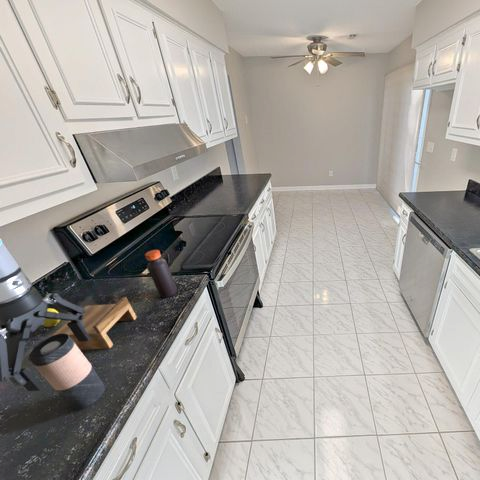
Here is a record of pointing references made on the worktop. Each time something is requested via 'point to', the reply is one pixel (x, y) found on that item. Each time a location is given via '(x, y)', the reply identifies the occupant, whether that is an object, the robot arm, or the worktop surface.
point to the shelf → (100, 323)
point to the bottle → (160, 274)
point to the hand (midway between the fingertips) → (63, 362)
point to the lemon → (51, 321)
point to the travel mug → (67, 370)
